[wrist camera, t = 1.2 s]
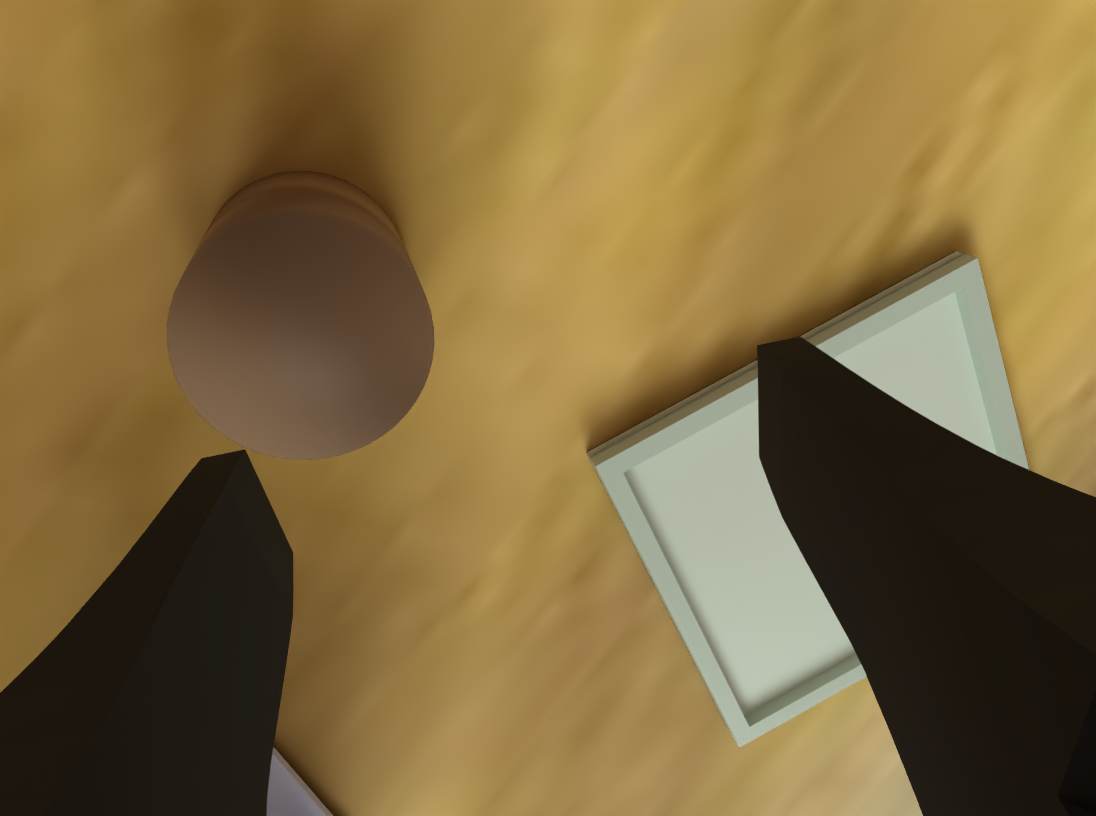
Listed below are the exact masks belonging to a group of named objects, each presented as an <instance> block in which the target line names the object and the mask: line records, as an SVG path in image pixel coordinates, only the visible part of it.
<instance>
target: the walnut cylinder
mask: <svg viewBox="0 0 1096 816" xmlns="http://www.w3.org/2000/svg"><path fill="white" fill-rule="evenodd" d="M167 345H168V351H169V358H170V362H171V365H172V368H173V372H174V375H175V377H176V379H177V381H178V384H179V386H180V388H181V390H182V392H183V393H184V395H185V396H186V398H187V399H188V401H189V403H190V404H191V405H192V406H193V408H194V409H195V410H196V411H197V412H198V414H199V415H200V416H201V417H202V418H203V419H204V420H205V421H206V422H207V423H208V424H210V425H211V426H212V427H213V428H214V429H215V430H217V431H218V432H220V433H221V434H222V435H224V436H225V437H227V438H228V439H230V440H232V441H234V442H235V443H237V444H239V445H241V446H243V447H245V448H248V449H250V450H253V451H256V452H258V453H262V454H265V455H269V456H273V457H279V458H285V459H297V460H311V459H323V458H329V457H334V456H339V455H342V454H345V453H348V452H351V451H354V450H357V449H359V448H361V447H363V446H366V445H368V444H370V443H371V442H373V441H375V440H376V439H378V438H380V437H381V436H383V435H384V434H385V433H387V432H388V431H389V430H390V429H392V428H393V427H394V426H395V425H396V424H397V423H398V422H399V421H400V420H401V419H402V418H403V417H404V416H405V415H406V414H407V413H408V411H409V410H410V409H411V407H412V406H413V405H414V403H415V402H416V400H417V398H418V397H419V395H420V393H421V391H422V389H423V388H424V385H425V382H426V380H427V377H428V375H429V371H430V367H431V363H432V359H433V350H434V327H433V321H432V315H431V311H430V308H429V304H428V301H427V298H426V295H425V293H424V291H423V288H422V286H421V284H420V281H419V279H418V277H417V274H416V272H415V270H414V267H413V265H412V263H411V260H410V258H409V256H408V253H407V251H406V249H405V246H404V244H403V242H402V239H401V237H400V235H399V233H398V231H397V229H396V226H395V225H394V223H393V222H392V220H391V219H390V217H389V216H388V214H387V213H386V212H385V211H384V210H383V208H382V207H381V206H380V205H379V204H378V203H377V202H376V201H375V200H374V199H373V198H371V197H370V196H369V195H368V194H366V193H365V192H364V191H362V190H361V189H359V188H358V187H356V186H354V185H352V184H350V183H348V182H347V181H344V180H341V179H339V178H336V177H334V176H330V175H326V174H322V173H315V172H307V171H299V172H286V173H279V174H275V175H271V176H268V177H264V178H262V179H260V180H258V181H255V182H253V183H251V184H249V185H248V186H246V187H245V188H243V189H241V190H240V191H239V192H237V193H236V194H235V195H234V196H233V197H231V198H230V199H229V200H228V201H227V203H226V204H225V205H224V206H223V207H222V208H221V209H220V211H219V212H218V214H217V215H216V217H215V218H214V220H213V222H212V223H211V225H210V227H209V229H208V231H207V232H206V234H205V236H204V238H203V240H202V241H201V243H200V245H199V247H198V249H197V250H196V252H195V254H194V256H193V258H192V259H191V261H190V263H189V265H188V267H187V268H186V270H185V272H184V274H183V276H182V277H181V280H180V282H179V284H178V286H177V288H176V290H175V292H174V295H173V299H172V302H171V305H170V309H169V316H168V322H167Z"/></svg>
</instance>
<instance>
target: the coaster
mask: <svg viewBox="0 0 1096 816" xmlns="http://www.w3.org/2000/svg"><path fill="white" fill-rule="evenodd" d="M800 337H802V338H803V339H805V340H806V341H808V342H810V343H811V344H813V345H814V346H816V347H817V348H819V349H820V350H822V351H823V352H825V353H826V354H828V355H829V356H831V357H832V358H834V359H835V360H837V361H838V362H839V363H841V364H842V365H844V366H845V367H847V368H848V369H850V370H851V371H853V372H854V373H856V374H857V375H859V376H860V377H862V378H864V379H865V380H867V381H868V382H870V383H871V384H873V385H874V386H876V387H877V388H879V389H880V390H882V391H884V392H885V393H887V394H888V395H890V396H892V397H893V398H895V399H896V400H898V401H900V402H901V403H903V404H904V405H906V406H908V407H909V408H911V409H913V410H914V411H916V412H918V413H919V414H921V415H923V416H925V417H926V418H928V419H930V420H931V421H933V422H935V423H937V424H938V425H940V426H942V427H944V428H946V429H948V430H949V431H951V432H953V433H955V434H957V435H959V436H960V437H962V438H964V439H966V440H968V441H970V442H972V443H973V444H975V445H977V446H979V447H981V448H983V449H985V450H987V451H989V452H991V453H993V454H995V455H997V456H999V457H1001V458H1003V459H1006V460H1008V461H1010V462H1012V463H1015V464H1017V465H1019V466H1021V467H1023V468H1026V469H1028V470H1029V467H1028V463H1027V459H1026V455H1025V451H1024V446H1023V442H1022V438H1021V434H1020V430H1019V426H1018V422H1017V418H1016V413H1015V409H1014V405H1013V401H1012V397H1011V393H1010V389H1009V385H1008V381H1007V376H1006V372H1005V368H1004V364H1003V360H1002V356H1001V352H1000V348H999V344H998V339H997V335H996V331H995V327H994V323H993V319H992V315H991V311H990V307H989V302H988V298H987V294H986V290H985V286H984V282H983V278H982V274H981V269H980V265H979V261H978V258H976V257H973V256H970V255H967V254H964V253H961V252H958V251H956V252H954V253H952V254H950V255H948V256H947V257H945V258H943V259H941V260H939V261H937V262H936V263H934V264H932V265H930V266H928V267H926V268H925V269H923V270H921V271H919V272H917V273H915V274H914V275H912V276H910V277H908V278H906V279H904V280H903V281H901V282H899V283H897V284H895V285H893V286H892V287H890V288H888V289H886V290H884V291H882V292H881V293H879V294H877V295H875V296H873V297H871V298H870V299H868V300H866V301H864V302H862V303H860V304H859V305H857V306H855V307H853V308H851V309H849V310H848V311H846V312H844V313H842V314H840V315H838V316H836V317H835V318H833V319H831V320H829V321H827V322H825V323H824V324H822V325H820V326H818V327H816V328H814V329H813V330H811V331H809V332H807V333H805V334H803V335H802V336H800ZM587 455H588V457H589V459H590V461H591V463H592V465H593V467H594V469H595V471H596V473H597V475H598V476H599V478H600V480H601V482H602V484H603V486H604V488H605V490H606V492H607V494H608V496H609V498H610V500H611V502H612V504H613V506H614V508H615V510H616V511H617V513H618V515H619V517H620V519H621V521H622V523H623V525H624V527H625V529H626V531H627V533H628V535H629V537H630V539H631V541H632V543H633V545H634V546H635V548H636V550H637V552H638V554H639V556H640V558H641V560H642V562H643V564H644V566H645V568H646V570H647V572H648V574H649V576H650V578H651V580H652V582H653V583H654V585H655V587H656V589H657V591H658V593H659V595H660V597H661V599H662V601H663V603H664V605H665V607H666V609H667V611H668V613H669V615H670V617H671V618H672V620H673V622H674V624H675V626H676V628H677V630H678V632H679V634H680V636H681V638H682V640H683V642H684V644H685V646H686V648H687V650H688V652H689V653H690V655H691V657H692V659H693V661H694V663H695V665H696V667H697V669H698V671H699V673H700V675H701V677H702V679H703V681H704V683H705V685H706V687H707V688H708V690H709V692H710V694H711V696H712V698H713V700H714V702H715V704H716V706H717V708H718V710H719V712H720V714H721V716H722V718H723V720H724V722H725V724H726V725H727V727H728V729H729V731H730V733H731V734H732V736H733V738H734V739H735V741H736V743H737V744H738V746H739V748H740V747H741V746H743V745H745V744H747V743H748V742H750V741H752V740H754V739H756V738H757V737H759V736H761V735H763V734H765V733H766V732H768V731H770V730H772V729H773V728H775V727H777V726H779V725H781V724H782V723H784V722H786V721H788V720H790V719H791V718H793V717H795V716H797V715H799V714H800V713H802V712H804V711H806V710H807V709H809V708H811V707H813V706H815V705H816V704H818V703H820V702H822V701H824V700H825V699H827V698H829V697H831V696H832V695H834V694H836V693H838V692H840V691H841V690H843V689H845V688H847V687H849V686H850V685H852V684H854V683H856V682H858V681H859V680H861V679H863V678H865V677H866V673H865V671H864V669H863V667H862V665H861V663H860V661H859V659H858V657H857V655H856V653H855V651H854V649H853V647H852V644H851V642H850V641H849V639H848V637H847V635H846V633H845V632H844V630H843V628H842V626H841V624H840V622H839V621H838V619H837V617H836V615H835V613H834V612H833V610H832V608H831V606H830V604H829V603H828V601H827V599H826V597H825V595H824V593H823V592H822V590H821V588H820V586H819V584H818V583H817V581H816V579H815V577H814V575H813V574H812V572H811V570H810V568H809V566H808V564H807V563H806V561H805V559H804V557H803V555H802V553H801V552H800V550H799V548H798V546H797V544H796V542H795V541H794V539H793V537H792V535H791V533H790V531H789V529H788V527H787V526H786V524H785V522H784V520H783V518H782V516H781V513H780V511H779V508H778V506H777V503H776V501H775V498H774V496H773V493H772V491H771V488H770V486H769V483H768V480H767V477H766V475H765V472H764V469H763V467H762V464H761V461H760V459H759V425H758V360H756V361H754V362H752V363H750V364H748V365H747V366H745V367H743V368H741V369H739V370H737V371H736V372H734V373H732V374H730V375H728V376H726V377H725V378H723V379H721V380H719V381H717V382H715V383H714V384H712V385H710V386H708V387H706V388H704V389H702V390H701V391H699V392H697V393H695V394H693V395H691V396H690V397H688V398H686V399H684V400H682V401H680V402H679V403H677V404H675V405H673V406H671V407H669V408H668V409H666V410H664V411H662V412H660V413H658V414H657V415H655V416H653V417H651V418H649V419H647V420H646V421H644V422H642V423H640V424H638V425H636V426H635V427H633V428H631V429H629V430H627V431H625V432H624V433H622V434H620V435H618V436H616V437H614V438H613V439H611V440H609V441H607V442H605V443H603V444H602V445H600V446H598V447H596V448H594V449H592V450H591V451H589V452H587Z"/></svg>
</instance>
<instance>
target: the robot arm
mask: <svg viewBox="0 0 1096 816" xmlns="http://www.w3.org/2000/svg"><path fill="white" fill-rule="evenodd" d="M757 353H758V425H759V459H760V461H761V464H762V467H763V469H764V472H765V475H766V477H767V480H768V483H769V486H770V488H771V491H772V493H773V496H774V498H775V501H776V503H777V506H778V508H779V511H780V513H781V516H782V518H783V520H784V522H785V524H786V526H787V527H788V529H789V531H790V533H791V535H792V537H793V539H794V541H795V542H796V544H797V546H798V548H799V550H800V552H801V553H802V555H803V557H804V559H805V561H806V563H807V564H808V566H809V568H810V570H811V572H812V574H813V575H814V577H815V579H816V581H817V583H818V584H819V586H820V588H821V590H822V592H823V593H824V595H825V597H826V599H827V601H828V603H829V604H830V606H831V608H832V610H833V612H834V613H835V615H836V617H837V619H838V621H839V622H840V624H841V626H842V628H843V630H844V632H845V633H846V635H847V637H848V639H849V641H850V642H851V644H852V647H853V649H854V651H855V653H856V655H857V657H858V659H859V661H860V663H861V665H862V667H863V669H864V671H865V673H866V676H867V678H868V680H869V683H870V685H871V687H872V690H873V692H874V695H875V697H876V699H877V702H878V704H879V707H880V709H881V711H882V714H883V716H884V718H885V721H886V723H887V726H888V728H889V730H890V733H891V735H892V738H893V740H894V743H895V745H896V748H897V750H898V753H899V755H900V758H901V760H902V763H903V765H904V768H905V770H906V773H907V775H908V778H909V781H910V783H911V786H912V788H913V791H914V793H915V796H916V798H917V801H918V803H919V806H920V809H921V811H922V814H923V816H1096V497H1094V496H1091V495H1088V494H1085V493H1083V492H1080V491H1077V490H1075V489H1072V488H1070V487H1067V486H1065V485H1062V484H1060V483H1057V482H1055V481H1053V480H1050V479H1048V478H1046V477H1043V476H1041V475H1039V474H1037V473H1035V472H1032V471H1030V470H1028V469H1026V468H1023V467H1021V466H1019V465H1017V464H1015V463H1012V462H1010V461H1008V460H1006V459H1003V458H1001V457H999V456H997V455H995V454H993V453H991V452H989V451H987V450H985V449H983V448H981V447H979V446H977V445H975V444H973V443H972V442H970V441H968V440H966V439H964V438H962V437H960V436H959V435H957V434H955V433H953V432H951V431H949V430H948V429H946V428H944V427H942V426H940V425H938V424H937V423H935V422H933V421H931V420H930V419H928V418H926V417H925V416H923V415H921V414H919V413H918V412H916V411H914V410H913V409H911V408H909V407H908V406H906V405H904V404H903V403H901V402H900V401H898V400H896V399H895V398H893V397H892V396H890V395H888V394H887V393H885V392H884V391H882V390H880V389H879V388H877V387H876V386H874V385H873V384H871V383H870V382H868V381H867V380H865V379H864V378H862V377H860V376H859V375H857V374H856V373H854V372H853V371H851V370H850V369H848V368H847V367H845V366H844V365H842V364H841V363H839V362H838V361H837V360H835V359H834V358H832V357H831V356H829V355H828V354H826V353H825V352H823V351H822V350H820V349H819V348H817V347H816V346H814V345H813V344H811V343H810V342H808V341H806V340H805V339H803V338H802V337H797V338H792V339H787V340H782V341H777V342H772V343H767V344H762V345H757ZM292 618H293V551H292V549H291V547H290V545H289V543H288V541H287V538H286V536H285V534H284V532H283V530H282V528H281V526H280V523H279V521H278V519H277V517H276V515H275V513H274V511H273V508H272V506H271V504H270V502H269V500H268V498H267V496H266V493H265V491H264V489H263V487H262V485H261V483H260V481H259V478H258V476H257V474H256V472H255V470H254V468H253V465H252V463H251V461H250V459H249V457H248V455H247V453H246V450H240V451H236V452H231V453H226V454H221V455H216V456H211V457H206V458H202V459H201V460H200V461H199V462H198V463H197V465H196V466H195V467H194V468H193V469H192V471H191V472H190V473H189V474H188V476H187V477H186V478H185V479H184V481H183V482H182V483H181V485H180V486H179V487H178V489H177V490H176V491H175V493H174V494H173V495H172V497H171V498H170V499H169V500H168V502H167V503H166V504H165V506H164V507H163V508H162V510H161V511H160V512H159V514H158V515H157V516H156V518H155V519H154V520H153V522H152V523H151V524H150V525H149V527H148V528H147V529H146V531H145V532H144V533H143V534H142V536H141V537H140V538H139V539H138V541H137V542H136V543H135V545H134V546H133V547H132V548H131V550H130V551H129V552H128V554H127V555H126V556H125V557H124V559H123V560H122V561H121V562H120V564H119V565H118V566H117V567H116V569H115V570H114V571H113V572H112V573H111V575H110V576H109V577H108V578H107V579H106V580H105V582H104V583H103V584H102V585H101V586H100V587H99V589H98V590H97V591H96V592H95V593H94V594H93V595H92V597H91V598H90V599H89V600H88V601H87V602H86V604H85V605H84V606H83V607H82V608H81V609H80V611H79V612H78V613H77V614H76V615H75V616H74V618H73V619H72V620H71V621H70V622H69V623H68V625H67V626H66V627H65V628H64V629H63V630H62V631H61V632H60V633H59V634H58V635H57V637H56V638H55V639H54V640H53V641H52V642H51V643H50V644H49V645H48V646H47V647H46V648H45V649H44V650H43V651H42V652H41V653H40V654H39V655H38V656H37V657H36V658H35V659H34V660H33V661H32V662H31V663H30V664H29V665H28V666H27V667H26V668H25V669H24V670H23V671H22V672H21V673H20V674H19V675H18V676H17V677H16V678H15V679H14V680H13V681H12V682H11V683H10V684H9V685H8V686H7V687H6V688H5V689H4V690H3V691H2V692H1V693H0V816H333V815H332V814H331V813H330V811H329V810H328V809H327V808H326V807H325V806H324V805H323V803H322V802H321V801H320V800H319V799H318V798H317V796H316V795H315V794H314V793H313V792H312V791H311V789H310V788H309V787H308V786H307V785H306V784H305V783H304V781H303V780H302V779H301V778H300V777H299V776H298V774H297V773H296V772H295V771H294V770H293V769H292V767H291V766H290V765H289V764H288V763H287V762H286V761H285V759H284V758H283V757H282V756H281V755H280V754H279V752H278V751H277V750H276V749H275V748H274V747H273V746H274V740H275V733H276V726H277V720H278V713H279V707H280V700H281V694H282V687H283V681H284V674H285V668H286V661H287V654H288V647H289V640H290V633H291V626H292Z"/></svg>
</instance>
